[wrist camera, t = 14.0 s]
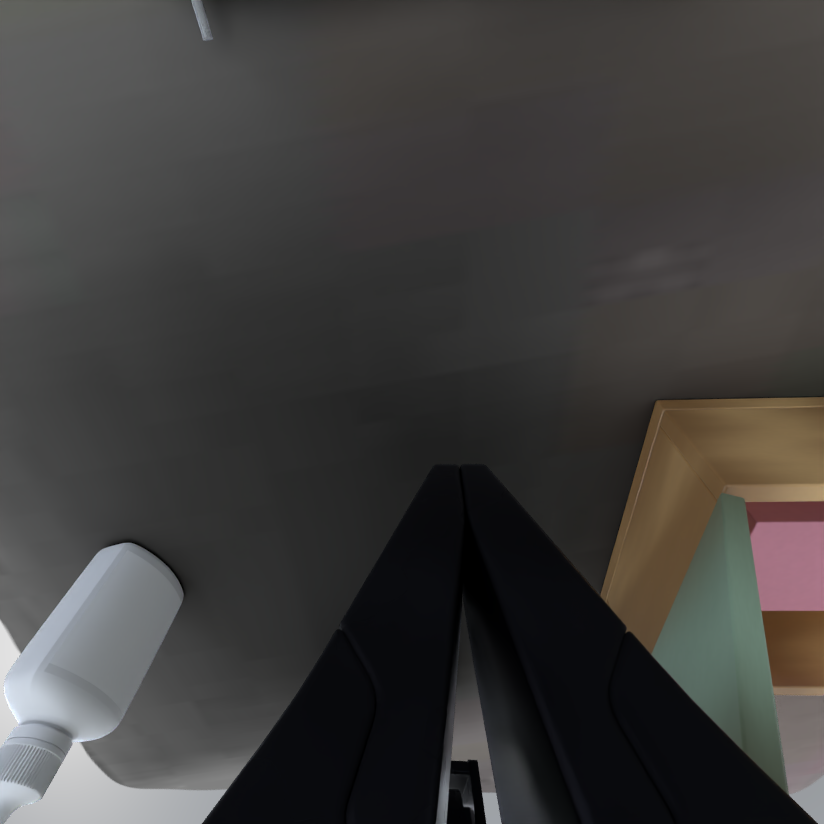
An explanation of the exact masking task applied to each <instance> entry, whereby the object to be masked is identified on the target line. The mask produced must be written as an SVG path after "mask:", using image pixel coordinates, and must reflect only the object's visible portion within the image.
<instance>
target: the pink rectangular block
mask: <svg viewBox="0 0 824 824" xmlns="http://www.w3.org/2000/svg"><path fill="white" fill-rule="evenodd" d="M745 504H746V511H747V518H748V524H749V531H750V538H751V544H752V551H753V558H754V565H755V571H756V578H757V585H758V591H759V598H760V605H761V611H824V501H808V502H745Z"/></svg>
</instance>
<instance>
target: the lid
mask: <svg viewBox="0 0 824 824" xmlns="http://www.w3.org/2000/svg"><path fill="white" fill-rule="evenodd" d="M651 655H652V656H653V657H654V658H655V659H656V660H657V661H658V662H659V663H660V665H661V666H662V667H663V668H664V669H665V670H666V671H667V672H668V673H669V674H670V675H671V677H672V678H673V679H674V680H675V681H676V682H677V683H678V684H679V685H680V686H681V688H682V689H683V690H684V691H685V692H686V693H687V694H688V695H689V696H690V697H691V698H692V700H693V701H694V702H695V703H696V704H697V705H698V706H699V707H700V708H701V709H702V710H703V711H704V712H705V713H706V714H707V715H708V716H709V717H710V718H711V719H712V720H713V721H714V722H715V723H716V724H717V725H718V726H719V727H720V728H721V729H722V730H723V731H724V732H725V733H726V734H727V735H728V736H729V737H730V738H731V739H732V740H733V741H734V742H735V743H736V744H737V745H738V746H739V747H740V748H741V749H742V750H743V751H744V752H745V753H746V754H747V755H748V756H749V757H750V758H751V759H752V760H753V761H754V762H755V763H756V764H757V765H758V766H759V767H760V768H761V769H762V770H763V771H764V772H765V773H766V774H767V775H768V776H769V777H771V778H772V779H773V780H774V781H775V782H776V783H777V784H778V785H779V786H780V787H781V788H782V789H783V790H784V791H785V792H786V793H787V794H788V795H789V792H788V786H787V779H786V772H785V766H784V759H783V752H782V745H781V739H780V732H779V725H778V719H777V712H776V705H775V699H774V692H773V685H772V678H771V672H770V665H769V658H768V652H767V645H766V638H765V632H764V625H763V618H762V611H761V605H760V598H759V591H758V585H757V578H756V571H755V565H754V558H753V551H752V544H751V538H750V531H749V524H748V518H747V511H746V504H745V499H744V498H742V497H738V496H734V495H730V494H725V493H721V494H720V496H719V498H718V500H717V503H716V505H715V507H714V510H713V512H712V514H711V517H710V519H709V521H708V524H707V526H706V528H705V531H704V533H703V535H702V537H701V540H700V542H699V544H698V547H697V549H696V551H695V554H694V556H693V558H692V561H691V563H690V565H689V568H688V570H687V572H686V575H685V577H684V579H683V582H682V584H681V586H680V589H679V591H678V593H677V596H676V598H675V600H674V603H673V605H672V607H671V610H670V612H669V614H668V617H667V619H666V621H665V624H664V626H663V628H662V631H661V633H660V635H659V638H658V640H657V642H656V645H655V647H654V649H653V652H652V654H651Z"/></svg>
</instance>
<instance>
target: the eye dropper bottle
mask: <svg viewBox="0 0 824 824" xmlns="http://www.w3.org/2000/svg"><path fill="white" fill-rule="evenodd" d="M183 597H184V594H183V590H182V587H181V585H180V583H179V581H178V579H177V578H176V576H175V575H174V573H173V572H172V571H171V570H170V568H169V567H168V566H167V565H166V564H165V563H163V562H162V561H161V560H160V559H159V558H157V557H156V556H155V555H153V554H152V553H150V552H149V551H147V550H146V549H144V548H142V547H140V546H138V545H136V544H133V543H121V544H117V545H114V546H110V547H107V548H104V549H102V550H100V551H99V552H98V553H97V554H96V555H95V557H94V558H93V559H92V561H91V562H90V563H89V565H88V566H87V567H86V568H85V570H84V571H83V572H82V574H81V575H80V576H79V578H78V579H77V580H76V582H75V583H74V584H73V586H72V587H71V588H70V590H69V591H68V592H67V593H66V595H65V596H64V597H63V599H62V600H61V601H60V603H59V604H58V605H57V607H56V608H55V609H54V611H53V612H52V613H51V615H50V616H49V617H48V619H47V620H46V621H45V623H44V624H43V625H42V627H41V628H40V629H39V631H38V632H37V633H36V635H35V636H34V637H33V639H32V640H31V641H30V643H29V644H28V645H27V647H26V648H25V649H24V651H23V652H22V653H21V655H20V656H19V658H18V659H17V660H16V662H15V663H14V664H13V666H12V668H11V669H10V671H9V672H8V674H7V675H6V678H5V682H4V694H5V698H6V700H7V703H8V706H9V708H10V709H11V712H12V713H13V715H14V717H15V718H16V720H17V721H18V724H19V726H18V727H15V728H14V729H13V731H12V732H11V733H10V735H9V736H8V738H7V739H6V741H5V742H4V744H3V745H2V747H1V748H0V824H4V823H5V821H6V820H7V819H8V818H9V816H10V815H11V814H12V813H13V812H14V811H15V810H16V809H17V808H19V807H21V806H23V805H27V804H31V803H35V802H37V801H39V800H40V799H42V797H43V795H44V794H45V792H46V790H47V788H48V787H49V785H50V783H51V781H52V779H53V778H54V776H55V774H56V773H57V771H58V769H59V767H60V765H61V763H62V762H63V760H64V758H65V757H66V755H67V753H68V751H69V750H70V748H71V746H72V742H83V741H90V740H94V739H98V738H101V737H103V736H106V735H107V734H109V733H111V732H112V731H113V730H114V729H115V728H116V727H117V726H118V725H119V723H120V722H121V720H122V719H123V717H124V715H125V713H126V711H127V709H128V708H129V706H130V704H131V702H132V700H133V698H134V696H135V694H136V692H137V691H138V689H139V687H140V685H141V683H142V681H143V679H144V677H145V675H146V673H147V671H148V669H149V667H150V665H151V663H152V661H153V659H154V657H155V655H156V653H157V651H158V650H159V648H160V646H161V644H162V642H163V640H164V638H165V636H166V634H167V632H168V630H169V628H170V626H171V624H172V622H173V620H174V618H175V616H176V614H177V612H178V610H179V608H180V606H181V604H182V601H183Z"/></svg>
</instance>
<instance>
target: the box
mask: <svg viewBox="0 0 824 824" xmlns="http://www.w3.org/2000/svg"><path fill="white" fill-rule="evenodd" d="M721 493H725V494H730V495H734V496H738V497H742V498H744V499H745V502H808V501H824V397H798V398H747V399H696V400H657V401H656V402H655V406H654V409H653V413H652V416H651V420H650V423H649V427H648V430H647V434H646V437H645V441H644V444H643V448H642V451H641V455H640V458H639V462H638V465H637V469H636V472H635V476H634V479H633V483H632V486H631V490H630V493H629V496H628V500H627V503H626V507H625V510H624V514H623V517H622V521H621V524H620V528H619V531H618V535H617V538H616V542H615V545H614V549H613V552H612V556H611V559H610V563H609V566H608V570H607V573H606V577H605V580H604V584H603V587H602V591H601V594H600V596H601V597H602V599H603V600H604V601H605V602H606V603H607V604H608V606H609V607H610V608H611V609H612V610H613V611H614V612H615V614H616V615H617V616H618V617H619V618H620V619H621V620H622V622H623V623H624V624H625V625H626V627H627V630H626V632H628V631H630V632H632V633H633V634H634V635H635V636H636V637H637V638H638V640H639V641H640V642H641V643H642V644H643V645H644V647H645V648H646V649H647V650H648V651H649V652H650V653H651V654H652V652H653V649H654V647H655V645H656V642H657V640H658V638H659V635H660V633H661V631H662V628H663V626H664V624H665V621H666V619H667V617H668V614H669V612H670V610H671V607H672V605H673V603H674V600H675V598H676V596H677V593H678V591H679V589H680V586H681V584H682V582H683V579H684V577H685V575H686V572H687V570H688V568H689V565H690V563H691V561H692V558H693V556H694V554H695V551H696V549H697V547H698V544H699V542H700V540H701V537H702V535H703V533H704V531H705V528H706V526H707V524H708V521H709V519H710V517H711V514H712V512H713V510H714V507H715V505H716V503H717V500H718V498H719V496H720V494H721ZM762 618H763V625H764V632H765V638H766V645H767V652H768V658H769V665H770V672H771V678H772V685H773V692H774V695H824V611H762Z"/></svg>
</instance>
